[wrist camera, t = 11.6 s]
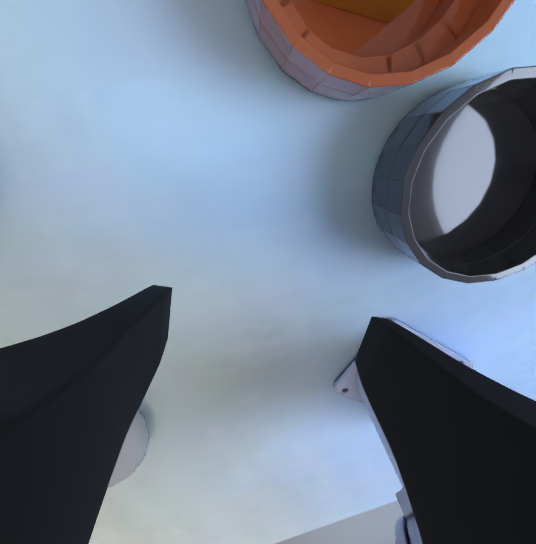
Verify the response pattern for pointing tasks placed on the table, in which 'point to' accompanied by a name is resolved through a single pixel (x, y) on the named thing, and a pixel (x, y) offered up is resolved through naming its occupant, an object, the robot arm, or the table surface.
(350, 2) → the block
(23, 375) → the robot arm
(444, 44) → the bowl
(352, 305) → the table surface
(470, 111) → the pot
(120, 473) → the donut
